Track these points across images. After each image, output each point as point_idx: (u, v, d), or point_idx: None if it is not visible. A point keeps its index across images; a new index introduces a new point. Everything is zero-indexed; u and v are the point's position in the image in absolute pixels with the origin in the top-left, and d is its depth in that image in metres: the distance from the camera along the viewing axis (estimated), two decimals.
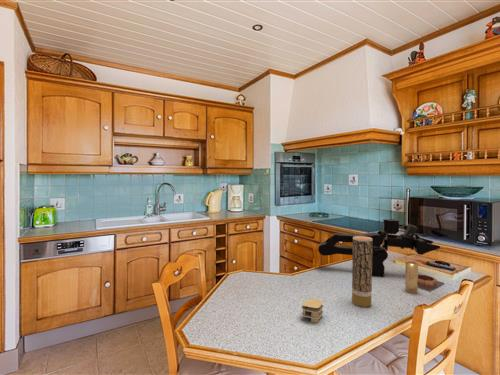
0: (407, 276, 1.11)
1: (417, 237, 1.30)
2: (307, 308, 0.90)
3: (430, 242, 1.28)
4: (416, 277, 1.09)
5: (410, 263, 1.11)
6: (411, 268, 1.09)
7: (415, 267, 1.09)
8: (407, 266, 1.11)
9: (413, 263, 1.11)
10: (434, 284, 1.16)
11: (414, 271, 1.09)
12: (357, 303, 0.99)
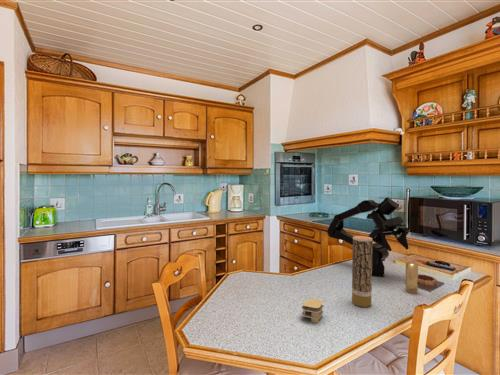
0: (407, 276, 1.11)
1: (402, 234, 1.23)
2: (307, 308, 0.90)
3: (405, 247, 1.20)
4: (416, 277, 1.09)
5: (410, 263, 1.11)
6: (411, 268, 1.09)
7: (415, 267, 1.09)
8: (407, 266, 1.11)
9: (413, 263, 1.11)
10: (434, 284, 1.16)
11: (414, 271, 1.09)
12: (357, 303, 0.99)
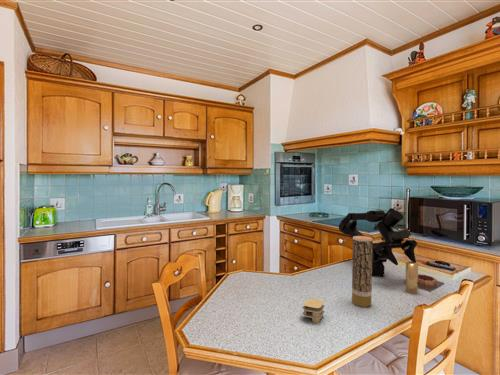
0: (407, 276, 1.11)
1: (409, 248, 1.18)
2: (308, 308, 0.90)
3: (413, 261, 1.16)
4: (416, 277, 1.09)
5: (410, 263, 1.11)
6: (411, 268, 1.09)
7: (415, 267, 1.09)
8: (407, 266, 1.11)
9: (413, 263, 1.11)
10: (434, 284, 1.16)
11: (414, 271, 1.09)
12: (357, 303, 0.99)
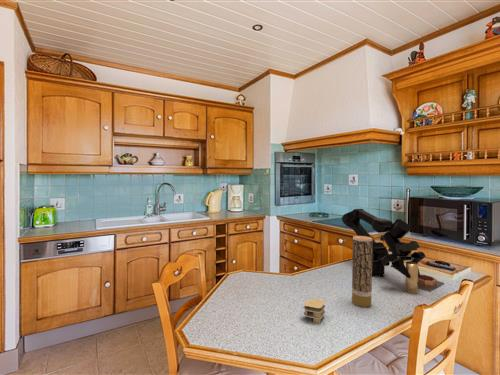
0: None
1: (413, 260, 1.14)
2: (309, 308, 0.90)
3: None
4: (416, 277, 1.09)
5: (410, 263, 1.11)
6: (411, 268, 1.09)
7: (415, 267, 1.09)
8: (407, 266, 1.11)
9: (413, 263, 1.11)
10: (434, 284, 1.16)
11: (414, 271, 1.09)
12: (357, 303, 0.99)
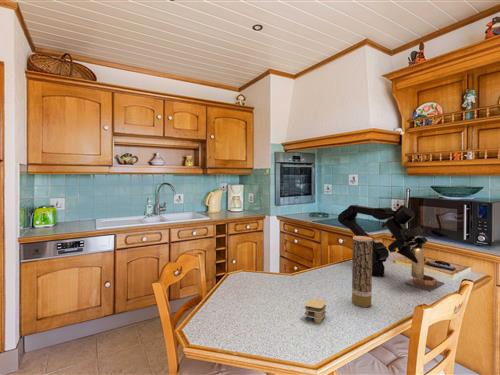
0: None
1: (417, 245, 1.15)
2: (310, 308, 0.90)
3: None
4: (423, 261, 1.10)
5: (416, 248, 1.12)
6: (419, 253, 1.10)
7: (422, 252, 1.10)
8: (414, 251, 1.11)
9: (419, 248, 1.12)
10: (434, 284, 1.16)
11: (421, 256, 1.10)
12: (357, 303, 0.99)
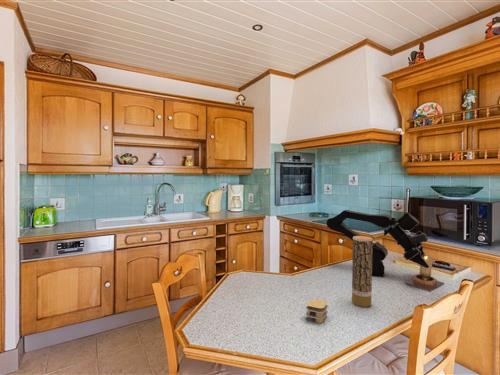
0: (425, 268, 1.18)
1: (420, 249, 1.24)
2: (311, 308, 0.90)
3: None
4: (431, 268, 1.18)
5: (426, 256, 1.19)
6: (430, 261, 1.17)
7: None
8: (425, 259, 1.17)
9: (427, 255, 1.19)
10: (434, 284, 1.16)
11: (431, 263, 1.17)
12: (357, 303, 0.99)
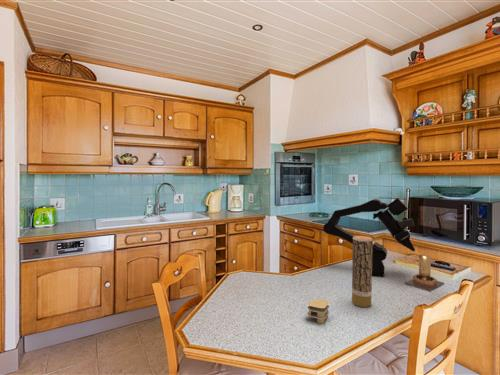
0: (424, 268, 1.18)
1: None
2: (313, 308, 0.90)
3: None
4: None
5: (424, 256, 1.19)
6: (428, 260, 1.17)
7: (430, 259, 1.18)
8: (424, 259, 1.18)
9: (425, 255, 1.20)
10: (434, 284, 1.16)
11: (430, 262, 1.18)
12: (357, 303, 0.99)
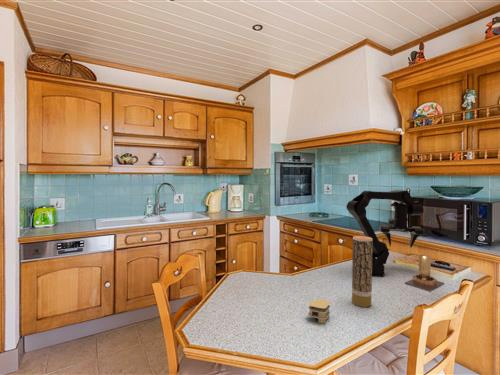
0: (424, 268, 1.18)
1: None
2: (314, 308, 0.89)
3: None
4: None
5: (424, 256, 1.19)
6: (428, 260, 1.17)
7: (430, 258, 1.18)
8: (424, 259, 1.18)
9: (425, 255, 1.20)
10: (434, 284, 1.16)
11: (430, 262, 1.18)
12: (357, 303, 0.99)
